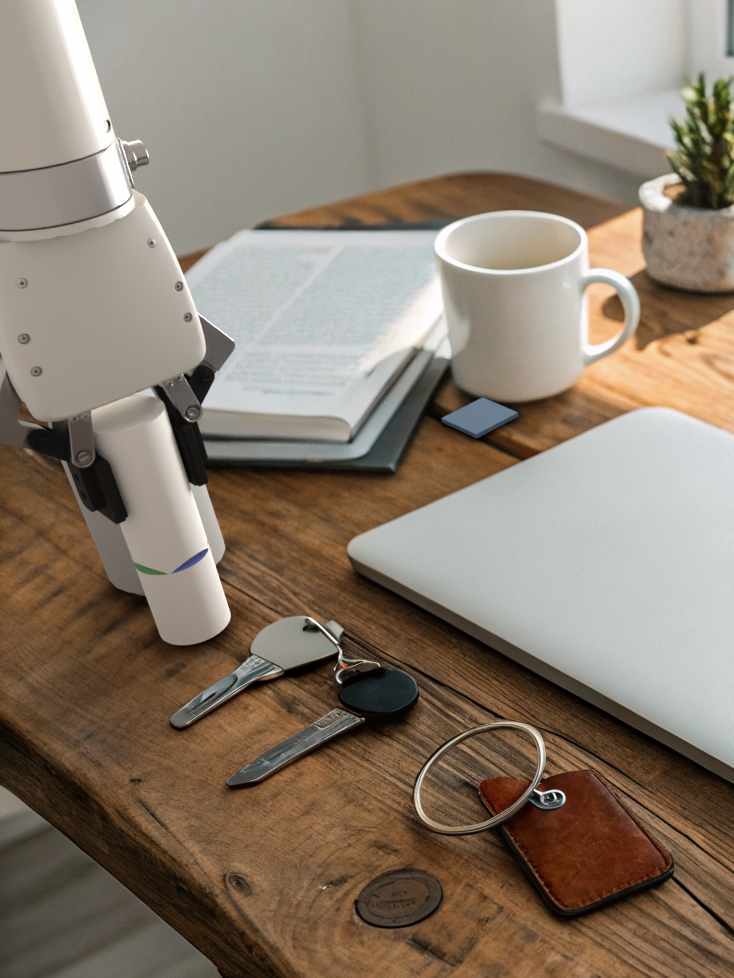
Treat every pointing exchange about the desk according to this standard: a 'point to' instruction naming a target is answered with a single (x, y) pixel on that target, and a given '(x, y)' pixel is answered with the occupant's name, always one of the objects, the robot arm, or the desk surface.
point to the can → (115, 546)
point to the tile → (479, 417)
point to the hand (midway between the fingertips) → (150, 493)
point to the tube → (161, 520)
